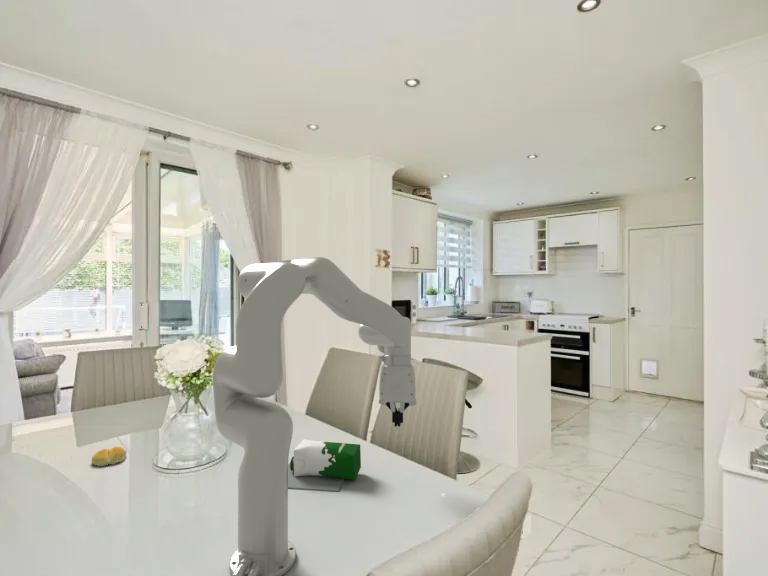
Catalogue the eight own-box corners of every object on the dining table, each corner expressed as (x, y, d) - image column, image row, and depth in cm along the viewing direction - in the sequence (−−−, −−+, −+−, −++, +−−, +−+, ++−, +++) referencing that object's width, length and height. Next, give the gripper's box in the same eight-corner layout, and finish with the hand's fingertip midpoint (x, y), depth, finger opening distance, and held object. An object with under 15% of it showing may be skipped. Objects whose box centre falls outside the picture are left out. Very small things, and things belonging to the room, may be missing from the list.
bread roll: (94, 459, 129) (94, 446, 129) (127, 454, 133) (127, 442, 133) (88, 469, 121) (88, 456, 121) (123, 464, 125) (123, 451, 125)
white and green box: (361, 469, 120) (299, 463, 124) (361, 439, 120) (298, 435, 124) (353, 485, 112) (286, 478, 116) (352, 453, 111) (285, 448, 115)
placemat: (338, 491, 108) (338, 490, 108) (270, 487, 110) (270, 486, 110) (350, 465, 124) (350, 464, 124) (291, 462, 126) (291, 461, 126)
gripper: (369, 362, 111) (369, 428, 111) (423, 363, 110) (423, 430, 110) (373, 357, 119) (373, 419, 119) (424, 358, 117) (424, 421, 117)
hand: (397, 424), depth 114 cm, fingers closed
